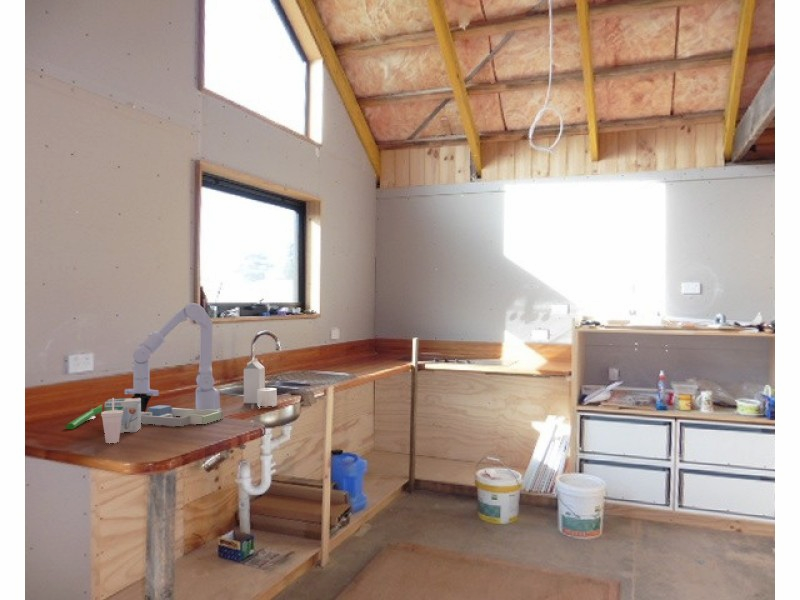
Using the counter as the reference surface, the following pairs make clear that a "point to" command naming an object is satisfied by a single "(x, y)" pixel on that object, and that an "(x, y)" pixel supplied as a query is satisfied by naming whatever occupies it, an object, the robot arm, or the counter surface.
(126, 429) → the light bulb box
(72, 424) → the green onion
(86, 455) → the counter surface
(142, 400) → the robot arm
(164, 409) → the block
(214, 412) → the trap box
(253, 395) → the milk carton
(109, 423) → the smoothie
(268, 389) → the toilet paper
